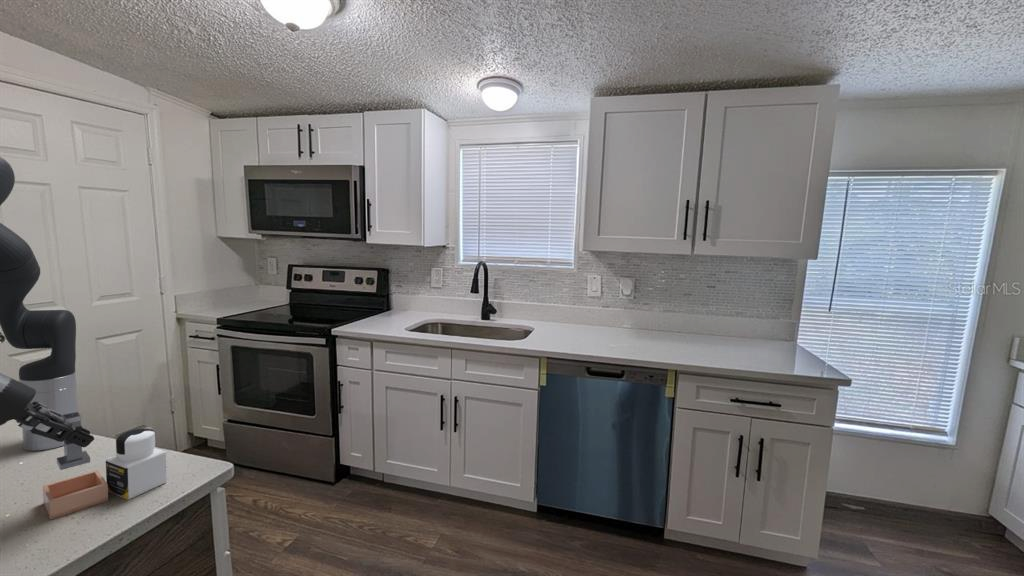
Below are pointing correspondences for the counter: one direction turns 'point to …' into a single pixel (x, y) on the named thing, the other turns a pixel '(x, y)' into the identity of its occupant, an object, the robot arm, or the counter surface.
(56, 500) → the tray
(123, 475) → the medicine bottle
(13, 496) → the counter surface
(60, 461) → the metal pedestal tower
